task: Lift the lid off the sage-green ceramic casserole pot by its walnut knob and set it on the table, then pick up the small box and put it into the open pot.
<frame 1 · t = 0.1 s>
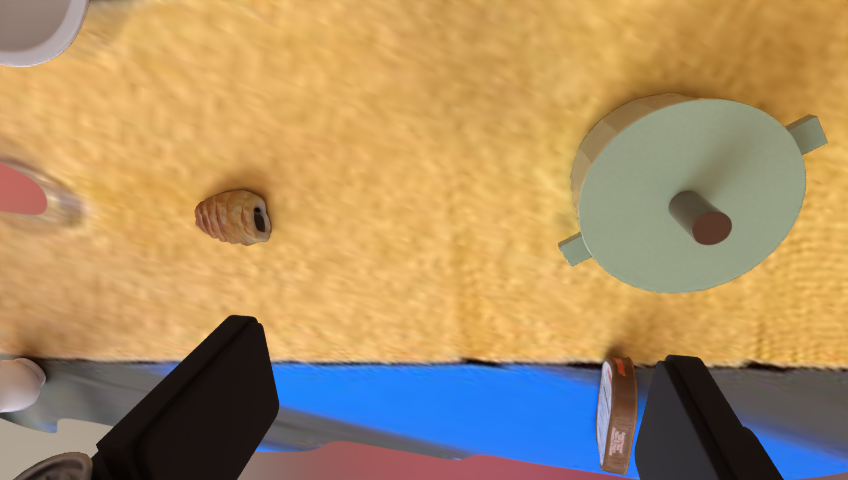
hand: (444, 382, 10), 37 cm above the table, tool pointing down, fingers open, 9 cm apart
tin: (606, 388, 55), on the table
flower vase: (29, 371, 75), on the table
pot lid: (682, 203, 35), point 8 cm above the table, touching casserole
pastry: (243, 214, 54), on the table
casserole: (652, 175, 43), on the table
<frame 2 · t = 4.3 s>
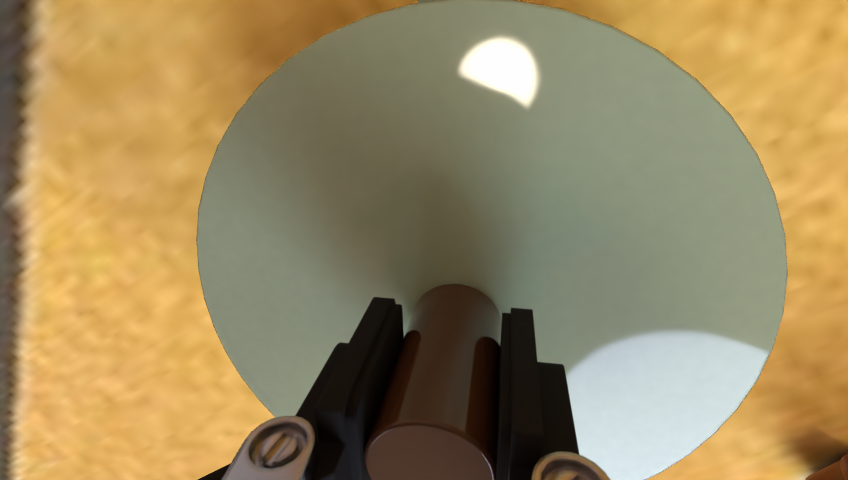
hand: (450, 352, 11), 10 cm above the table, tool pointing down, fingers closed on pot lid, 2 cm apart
pot lid: (458, 309, 13), point 8 cm above the table, touching casserole, gripper
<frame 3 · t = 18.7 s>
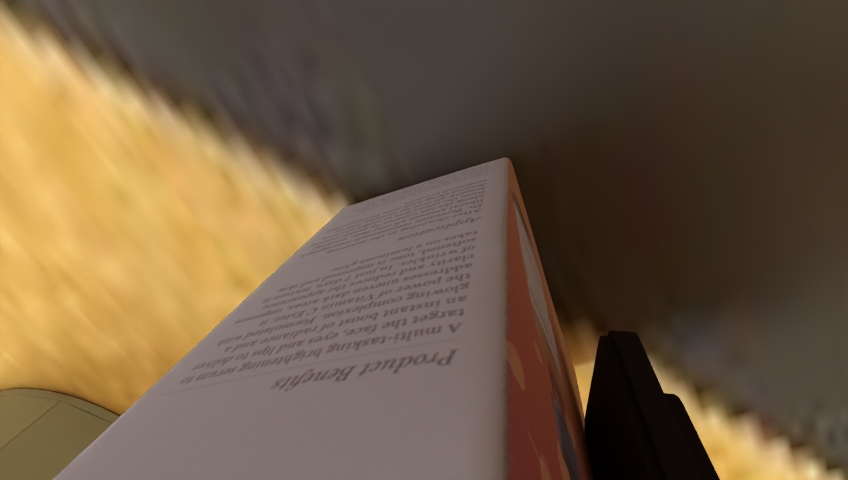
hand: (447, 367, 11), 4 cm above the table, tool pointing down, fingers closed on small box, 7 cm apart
small box: (462, 286, 14), on the table, touching gripper
when the fingers open (4 cm above the table, at t = 27.0 s): small box stays where it is, resting on casserole.
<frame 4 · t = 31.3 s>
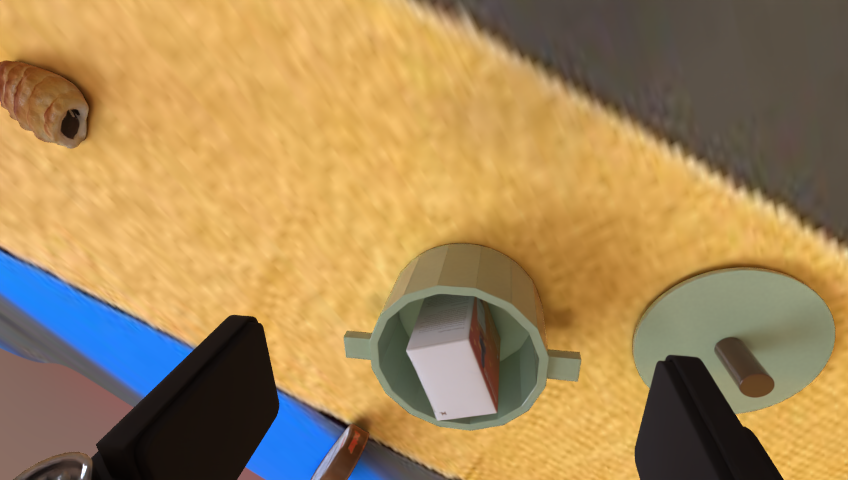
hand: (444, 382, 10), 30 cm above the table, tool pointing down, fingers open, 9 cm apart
tin: (342, 444, 57), on the table
pot lid: (726, 344, 41), point 1 cm above the table
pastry: (58, 103, 44), on the table
casserole: (464, 310, 45), on the table
small box: (464, 311, 45), resting on casserole
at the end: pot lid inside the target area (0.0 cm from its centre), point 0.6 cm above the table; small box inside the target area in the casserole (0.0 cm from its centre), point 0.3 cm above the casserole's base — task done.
